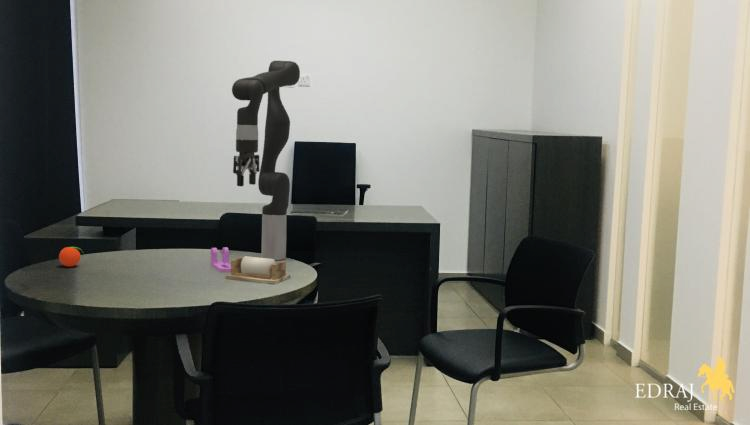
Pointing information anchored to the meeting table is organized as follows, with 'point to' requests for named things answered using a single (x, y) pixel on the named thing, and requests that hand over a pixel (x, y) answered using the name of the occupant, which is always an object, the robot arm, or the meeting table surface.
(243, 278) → the cradle
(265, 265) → the roll
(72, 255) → the clementine
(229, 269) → the bracket
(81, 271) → the meeting table surface
